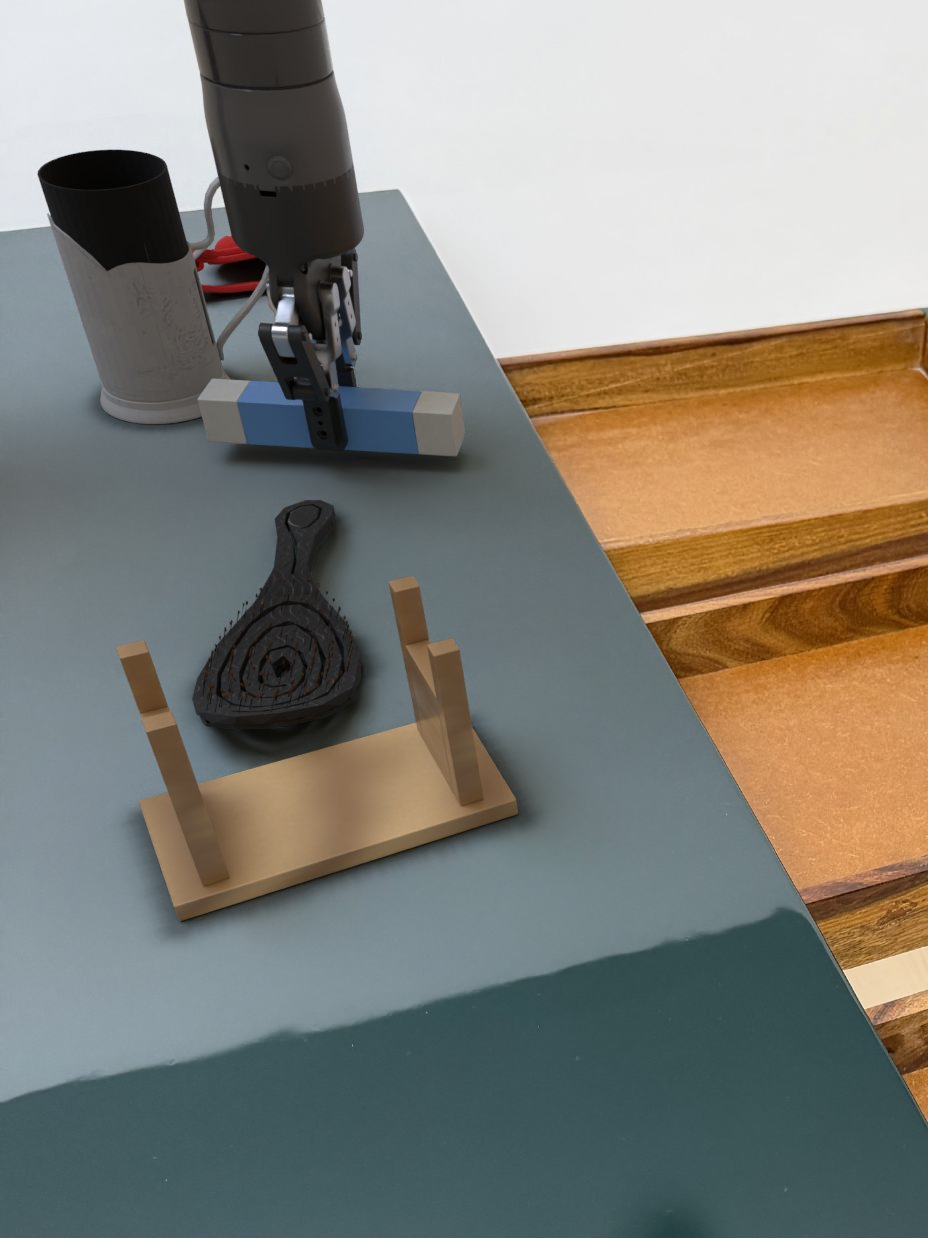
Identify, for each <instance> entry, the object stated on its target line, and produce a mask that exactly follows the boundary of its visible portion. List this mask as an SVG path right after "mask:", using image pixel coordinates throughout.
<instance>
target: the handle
mask: <svg viewBox="0 0 928 1238" xmlns="http://www.w3.org/2000/svg"><path fill="white" fill-rule="evenodd" d="M339 393H340V398H341V403H342V410H343V415H344V420H345V426H346V431H347V436H348V444H347V446H346V448H345V449H344V450H343V451H357V452H375V453H392V454H407V455H408V454H409V455H424V456H425V455H427V456H443V457H458V454H459V452H460V449H461V447H462V444H463V441H464V439H465V437H466V430H465V422H464V414H463V413H464V412H463V406H462V398H461V394H460V393H458V392H444V391H443V392H441V391H428V390H426V391H425V390H422V391H421V390H410V389H395V388H394V389H393V388H375V387H361V386H357V387H345V386H339ZM197 400H198V404H199V407H200V411H201V415H202V416H201V419H202V422H203V427H204V430H205V435H206V437H207V441H208V442H209V443H219V444H220V443H221V444H237V445H238V444H239V445H255V446H272V447H287V448H288V447H290V448H308V449H315V448H314V447H313V445H312V444H311V439H310V435H309V430H308V425H307V420H306V416H305V411H304V406H303V401H302V400H287V399H286V398H285V396H284V394H283V392H282V389H281V387H280V385H279V383H278V381H260V380H243V379H231V380H229V379H211V381H210V382H209V383H208V385H207V386H206V388H205V389H204V390H203V392H202V393H201V395H200V396H199V397H198V399H197Z"/></svg>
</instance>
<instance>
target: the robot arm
mask: <svg viewBox="0 0 928 1238" xmlns="http://www.w3.org/2000/svg"><path fill="white" fill-rule="evenodd" d="M183 3H184V9H185V14H186V18H187V22H188V23H187V24H188V28H189V31H190V37H191V40H192V45H193V49H194V54H195V58H196V62H197V63H196V64H197V67H198V71H199V78H200V83H201V91H202V102H203V112H204V113H203V114H204V119H205V125H206V129H207V134H208V138H209V143H210V147H211V151H212V156H213V161H214V165H215V169H216V173H217V177H218V178H219V183H220V187H219V188H220V191H221V196H222V200H223V204H224V208H225V214H226V217H227V218H226V219H227V222H228V226H229V231H230V235H232V238H233V241H234V242H235V244H236V245H237V246H238V247H239V248H240V249H242V250H243V251H244V252H246V253H248V254H250V255H254V256H256V257H257V258H258V259H259V260H261V262H263V263H264V264H265V266H266V265H267V266H268V268H269V272H268V274H269V279H268V280H267V284H266V289H265V290H266V295H267V301H268V307H269V309H270V310H271V311H272V313H273V314H274V321H273V323H272V322H260V323H259V324H258V328H257V337H258V339H259V342H260V345H261V346H262V349H263V351H264V353H265V356H266V358H267V360H268V363H269V364H270V367H271V369H272V371H273V374H274V376H275V378H276V380H277V382H278V383H279V385H280V387H281V389H282V392H283V394H284V396H285V398H286V399H287V400H302V401H303V406H304V411H305V416H306V420H307V425H308V430H309V435H310V439H311V444H312V445H313V447H314V448H313V449H315V450H319V451H330V452H331V451H332V452H343V451H345V450H344V449H345V448H346V446H347V444H348V436H347V431H346V426H345V420H344V415H343V410H342V403H341V398H340V393H339V386H345V387H358V386H357V385H358V384H357V379H356V374H355V368H356V364H357V361H358V355H357V351H356V347H355V346H360V345H361V343H362V340H363V333H362V326H361V325H362V324H361V306H360V305H361V303H360V302H361V301H360V287H359V286H360V285H359V268H358V261H359V255H358V253H357V249H356V247H358V246H359V245H360V243H361V242H362V240H363V239H364V235H365V226H364V225H365V224H364V220H363V214H362V213H363V212H362V209H361V202H360V195H359V189H358V184H357V178H356V171H355V166H354V158H353V152H352V146H351V140H350V134H349V129H348V121H347V118H346V111H345V108H344V104H343V100H342V98H341V97H342V96H341V95H340V92H339V91H340V90H339V88H338V84H337V81H336V76H335V71H334V64H333V58H332V53H331V46H330V40H329V35H328V28H327V22H326V17H325V11H324V6H323V2H322V0H183ZM257 258H256V259H257ZM354 367H355V368H354Z"/></svg>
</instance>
